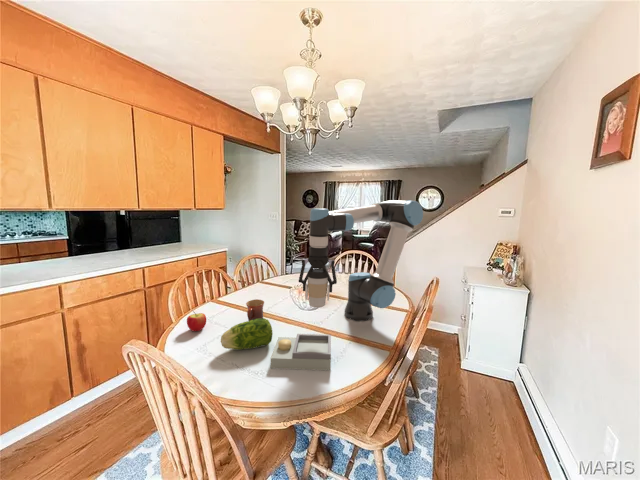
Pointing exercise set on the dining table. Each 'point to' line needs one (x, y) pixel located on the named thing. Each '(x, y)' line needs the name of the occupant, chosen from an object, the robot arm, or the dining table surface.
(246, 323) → the lettuce
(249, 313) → the mug
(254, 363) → the dining table surface
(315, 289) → the coffee cup
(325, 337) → the grey tray
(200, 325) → the apple
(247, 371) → the dining table surface
